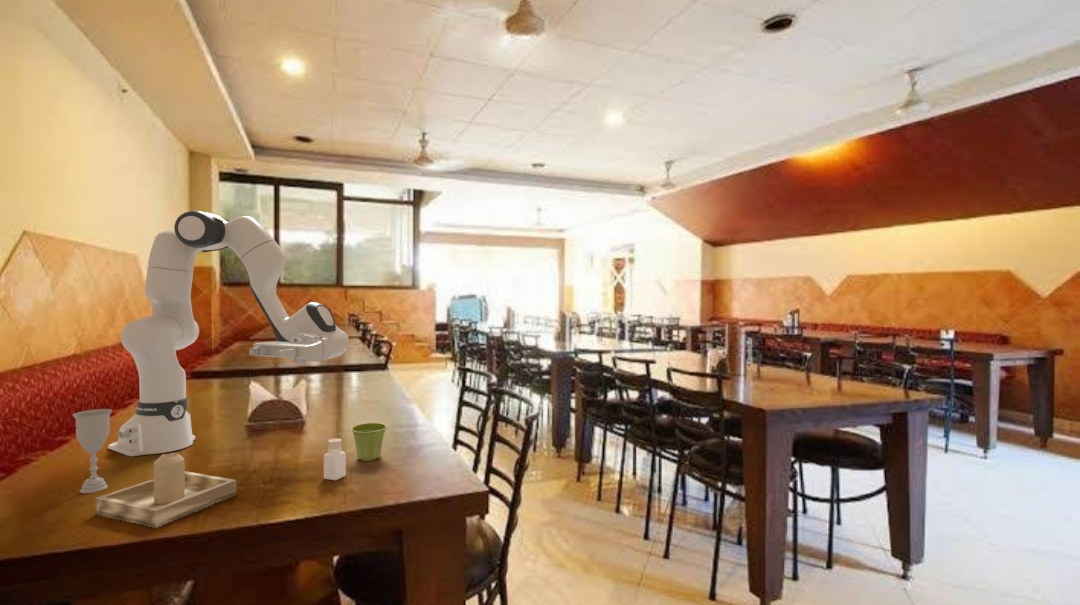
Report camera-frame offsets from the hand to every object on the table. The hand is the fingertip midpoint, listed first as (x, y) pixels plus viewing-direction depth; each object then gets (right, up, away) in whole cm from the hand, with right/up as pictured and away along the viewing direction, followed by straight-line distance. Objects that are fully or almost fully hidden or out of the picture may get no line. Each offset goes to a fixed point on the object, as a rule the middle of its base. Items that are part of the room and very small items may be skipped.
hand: (264, 353), depth 140 cm
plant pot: (+25, -30, +7) cm, 40 cm away
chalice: (-31, -30, -17) cm, 47 cm away
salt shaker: (+22, -31, -8) cm, 39 cm away
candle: (-7, -30, -25) cm, 40 cm away
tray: (-7, -31, -25) cm, 40 cm away
